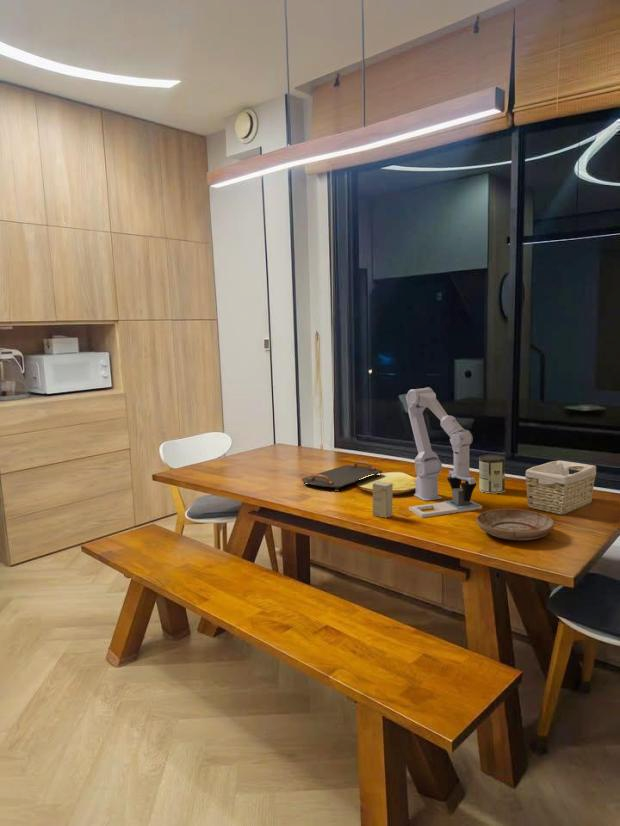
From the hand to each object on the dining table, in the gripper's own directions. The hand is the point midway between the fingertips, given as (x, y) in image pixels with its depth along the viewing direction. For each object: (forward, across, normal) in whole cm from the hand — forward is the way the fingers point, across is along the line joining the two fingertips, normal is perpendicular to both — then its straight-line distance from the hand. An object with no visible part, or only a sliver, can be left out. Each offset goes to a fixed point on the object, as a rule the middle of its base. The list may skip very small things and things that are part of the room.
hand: (461, 498), depth 211 cm
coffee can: (+4, -14, +23) cm, 27 cm away
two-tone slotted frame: (+3, 0, -7) cm, 8 cm away
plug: (+3, 0, 0) cm, 4 cm away
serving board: (+4, -57, -26) cm, 63 cm away
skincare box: (+4, -3, -31) cm, 31 cm away
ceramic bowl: (+4, +31, 0) cm, 31 cm away
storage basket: (+4, +13, +34) cm, 36 cm away
